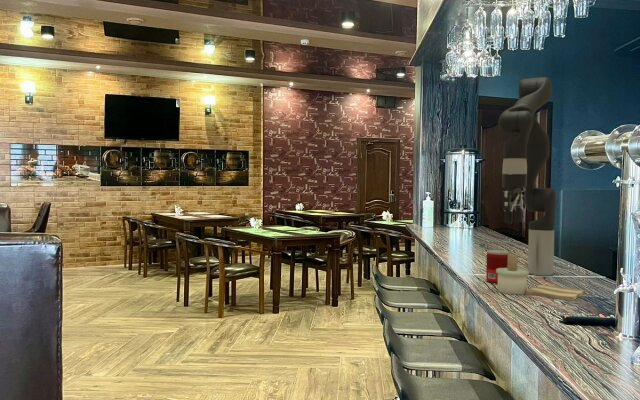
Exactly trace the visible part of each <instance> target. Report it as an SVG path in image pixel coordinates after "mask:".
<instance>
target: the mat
mask: <svg viewBox="0 0 640 400" xmlns="http://www.w3.org/2000/svg"><path fill="white" fill-rule="evenodd" d="M585 294H586V290H585V289H578V288H570V287H562V286H555V285H547V284H539V285H537V286H535V287H533V288H530V289H527V291H526V293H525V295H531V296H538V297H545V298H553V299H557V300H558V299H559V300H567V301H574V300H577V299H578V298H580V297H581V296H583V295H585Z"/></svg>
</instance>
